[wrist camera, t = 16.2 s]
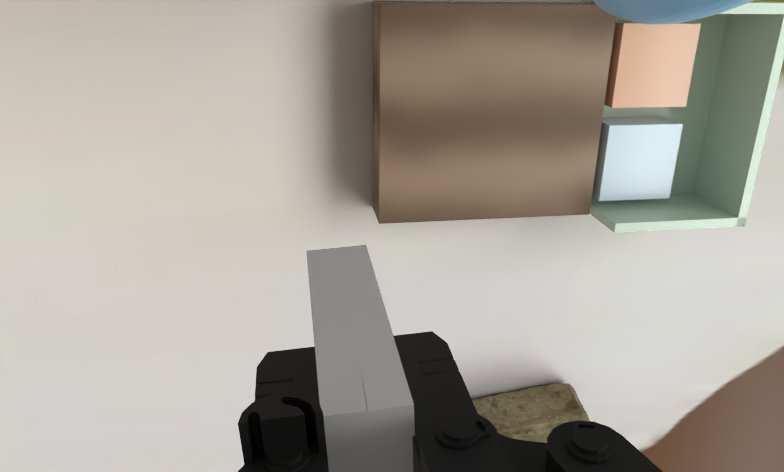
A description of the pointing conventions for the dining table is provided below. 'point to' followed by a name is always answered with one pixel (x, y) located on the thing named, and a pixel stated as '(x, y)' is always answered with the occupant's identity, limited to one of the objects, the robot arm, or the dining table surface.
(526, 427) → the stone block
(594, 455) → the robot arm
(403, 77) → the board
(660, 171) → the pale blue square block
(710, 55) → the tray
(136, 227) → the dining table surface
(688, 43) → the tile terracotta
